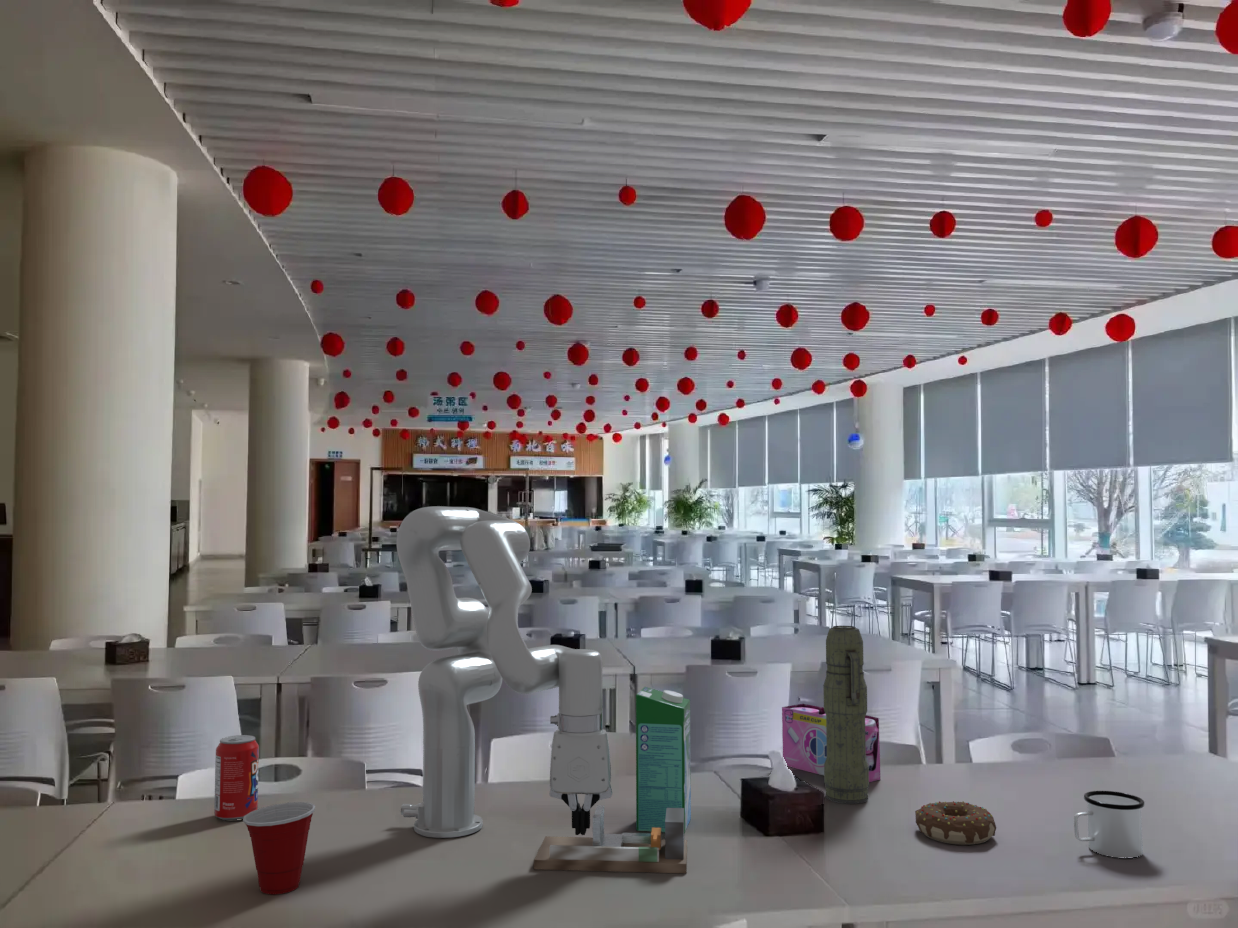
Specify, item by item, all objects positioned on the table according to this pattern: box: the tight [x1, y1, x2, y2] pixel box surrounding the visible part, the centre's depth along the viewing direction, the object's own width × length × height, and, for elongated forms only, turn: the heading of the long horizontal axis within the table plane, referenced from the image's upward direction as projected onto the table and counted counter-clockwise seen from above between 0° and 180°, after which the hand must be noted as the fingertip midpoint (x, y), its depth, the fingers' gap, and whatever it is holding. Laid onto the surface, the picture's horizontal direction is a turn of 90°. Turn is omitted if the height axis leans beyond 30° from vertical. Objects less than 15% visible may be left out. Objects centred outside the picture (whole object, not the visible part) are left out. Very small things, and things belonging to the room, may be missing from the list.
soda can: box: [213, 734, 260, 821], centre depth 189 cm, size 8×8×15 cm
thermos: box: [822, 625, 870, 805], centre depth 202 cm, size 9×12×35 cm
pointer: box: [650, 828, 662, 850], centre depth 162 cm, size 2×7×3 cm, turn 175°
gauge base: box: [533, 808, 688, 874], centre depth 165 cm, size 25×12×8 cm, turn 85°
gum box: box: [781, 703, 881, 783], centre depth 221 cm, size 24×8×14 cm, turn 38°
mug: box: [1073, 790, 1146, 858], centre depth 168 cm, size 12×10×9 cm
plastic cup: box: [242, 801, 316, 895], centre depth 152 cm, size 11×11×12 cm
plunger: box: [592, 804, 651, 847], centre depth 165 cm, size 10×7×6 cm
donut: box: [914, 800, 997, 846], centre depth 177 cm, size 14×14×5 cm
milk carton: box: [635, 686, 692, 834], centre depth 183 cm, size 9×9×25 cm
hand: (581, 832), depth 165 cm, fingers closed
